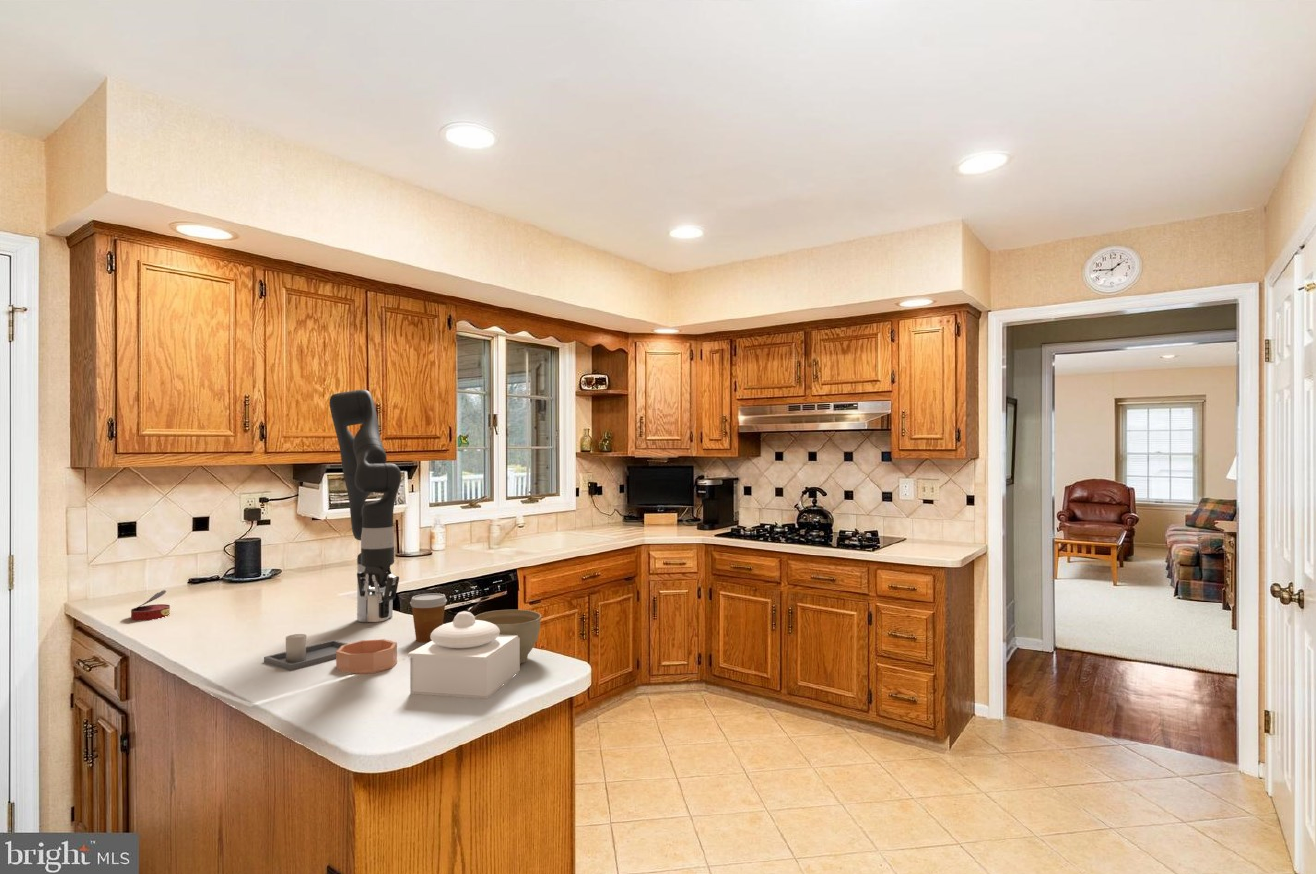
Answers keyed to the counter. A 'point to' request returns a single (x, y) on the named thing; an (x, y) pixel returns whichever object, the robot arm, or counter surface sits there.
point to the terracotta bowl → (367, 656)
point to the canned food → (151, 610)
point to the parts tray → (307, 655)
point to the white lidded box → (464, 659)
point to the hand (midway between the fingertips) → (377, 615)
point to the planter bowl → (516, 626)
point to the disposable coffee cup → (427, 614)
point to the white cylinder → (374, 608)
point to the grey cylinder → (295, 648)
